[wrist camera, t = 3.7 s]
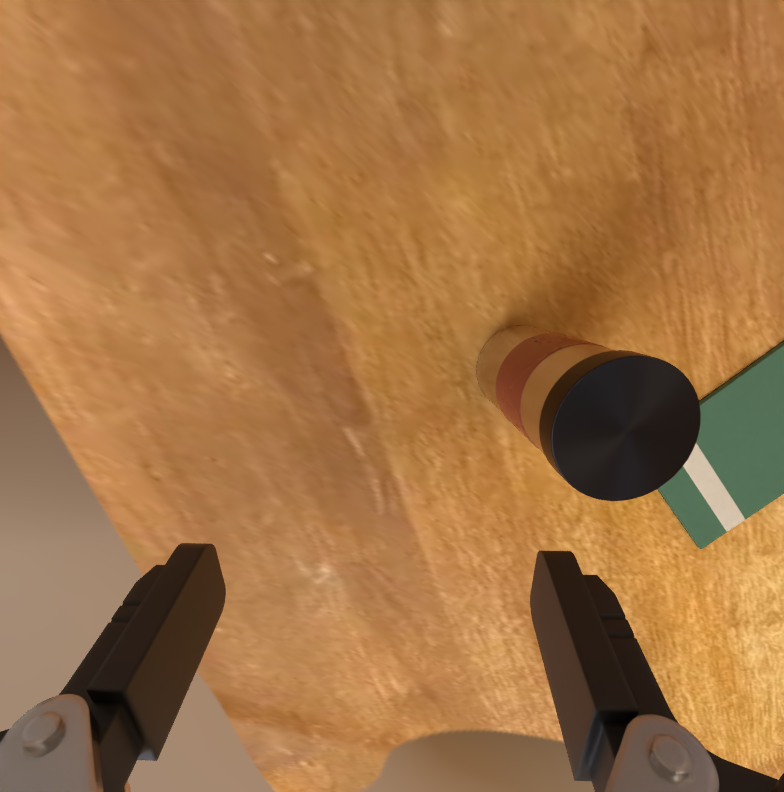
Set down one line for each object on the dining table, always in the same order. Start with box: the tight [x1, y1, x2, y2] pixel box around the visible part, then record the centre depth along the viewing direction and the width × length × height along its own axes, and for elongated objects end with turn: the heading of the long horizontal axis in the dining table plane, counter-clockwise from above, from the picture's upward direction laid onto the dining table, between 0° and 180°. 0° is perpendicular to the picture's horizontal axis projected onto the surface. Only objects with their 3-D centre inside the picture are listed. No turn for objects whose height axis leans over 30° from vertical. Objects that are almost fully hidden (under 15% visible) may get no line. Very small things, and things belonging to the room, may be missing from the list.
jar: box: [476, 325, 701, 501], centre depth 23 cm, size 6×6×12 cm
